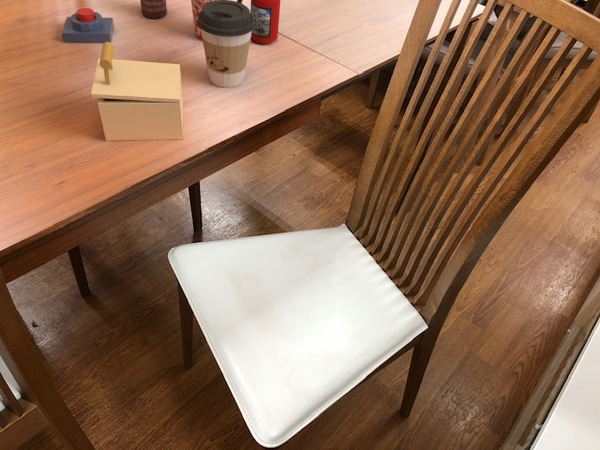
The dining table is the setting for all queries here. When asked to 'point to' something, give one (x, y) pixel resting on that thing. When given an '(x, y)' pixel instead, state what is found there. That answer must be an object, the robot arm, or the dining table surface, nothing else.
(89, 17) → the button
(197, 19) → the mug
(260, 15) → the beverage can
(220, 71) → the coffee cup
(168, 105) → the chest
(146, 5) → the can
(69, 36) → the button box
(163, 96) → the lid
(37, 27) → the dining table surface
